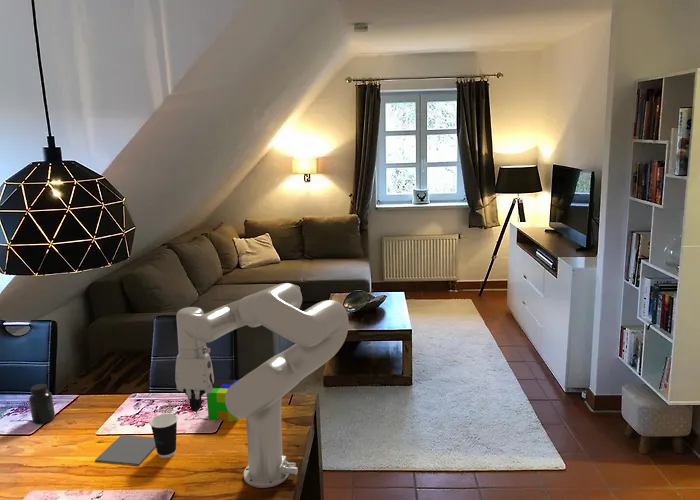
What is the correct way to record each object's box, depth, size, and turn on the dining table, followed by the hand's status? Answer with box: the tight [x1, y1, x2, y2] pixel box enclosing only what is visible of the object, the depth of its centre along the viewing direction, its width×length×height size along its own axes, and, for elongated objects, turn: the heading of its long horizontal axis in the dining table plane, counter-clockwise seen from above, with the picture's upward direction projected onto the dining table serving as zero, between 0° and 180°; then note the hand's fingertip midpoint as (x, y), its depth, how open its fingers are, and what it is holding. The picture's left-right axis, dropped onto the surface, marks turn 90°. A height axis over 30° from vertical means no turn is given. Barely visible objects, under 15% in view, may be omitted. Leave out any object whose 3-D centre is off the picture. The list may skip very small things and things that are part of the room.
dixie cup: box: [149, 413, 178, 459], centre depth 173 cm, size 8×8×11 cm
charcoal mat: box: [95, 434, 156, 466], centre depth 176 cm, size 14×14×1 cm
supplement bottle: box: [28, 383, 56, 425], centre depth 194 cm, size 7×7×12 cm
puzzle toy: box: [206, 378, 240, 422], centre depth 197 cm, size 10×10×10 cm
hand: (196, 409), depth 169 cm, fingers closed
